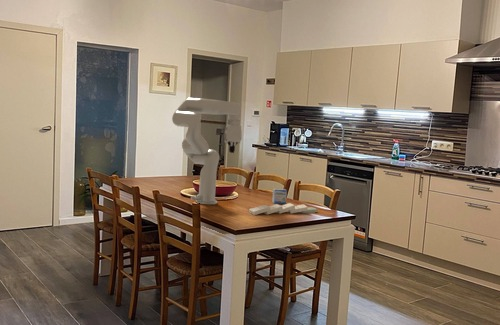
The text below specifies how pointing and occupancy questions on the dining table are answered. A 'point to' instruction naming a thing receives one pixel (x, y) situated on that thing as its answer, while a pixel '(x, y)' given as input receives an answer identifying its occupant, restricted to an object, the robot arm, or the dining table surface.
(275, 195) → the medicine box
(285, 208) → the domino
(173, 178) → the dining table surface
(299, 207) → the domino
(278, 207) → the domino
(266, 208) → the domino
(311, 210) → the domino
